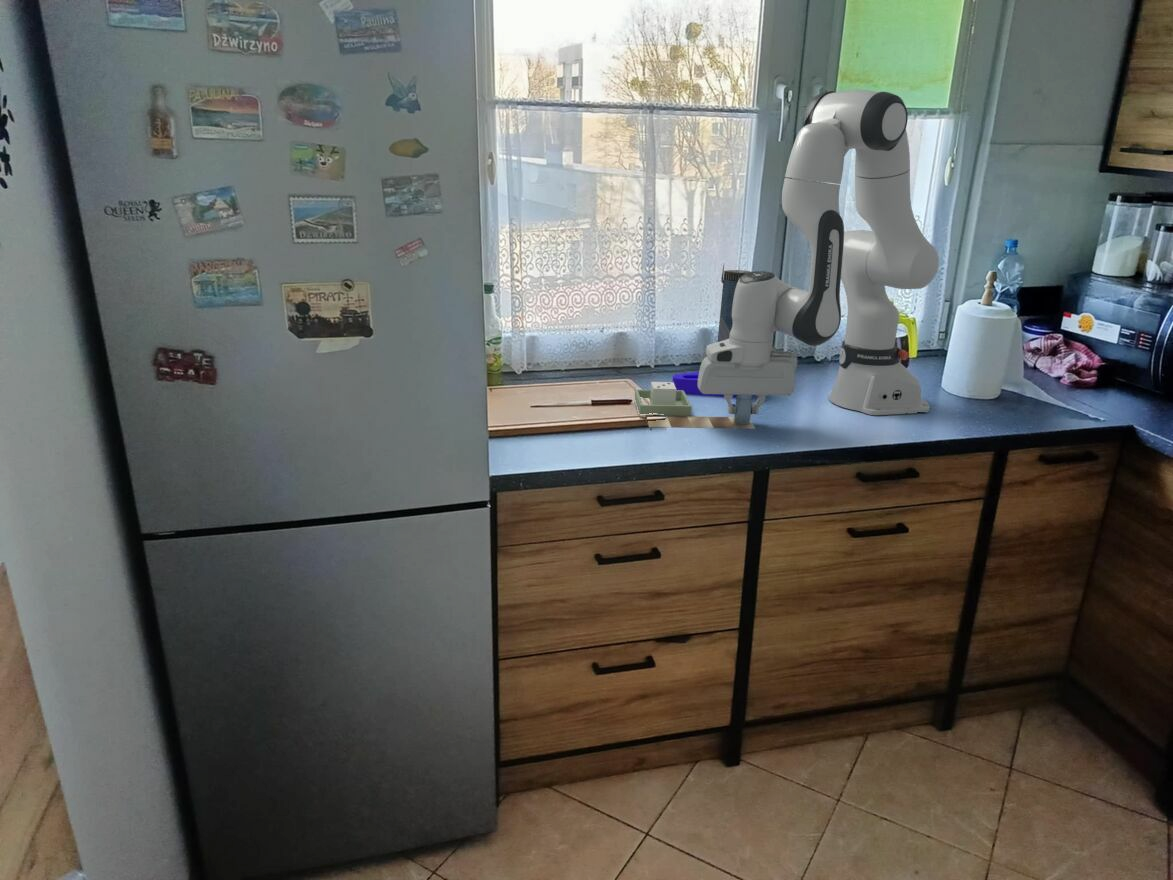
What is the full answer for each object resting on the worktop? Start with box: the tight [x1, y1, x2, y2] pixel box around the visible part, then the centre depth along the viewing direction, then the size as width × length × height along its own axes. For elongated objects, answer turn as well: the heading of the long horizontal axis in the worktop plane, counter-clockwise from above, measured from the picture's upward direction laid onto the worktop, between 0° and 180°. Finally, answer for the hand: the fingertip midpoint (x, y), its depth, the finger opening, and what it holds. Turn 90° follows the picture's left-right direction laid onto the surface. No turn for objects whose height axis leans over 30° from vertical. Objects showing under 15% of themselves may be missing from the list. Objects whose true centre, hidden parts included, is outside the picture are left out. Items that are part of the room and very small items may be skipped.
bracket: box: [671, 371, 754, 398], centre depth 207 cm, size 18×11×12 cm, turn 100°
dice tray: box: [634, 389, 692, 416], centre depth 196 cm, size 11×11×3 cm
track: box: [647, 415, 756, 430], centre depth 188 cm, size 22×7×1 cm, turn 93°
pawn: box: [733, 395, 753, 425], centre depth 187 cm, size 3×3×8 cm
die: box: [650, 381, 676, 405], centre depth 195 cm, size 5×5×5 cm
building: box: [717, 264, 751, 342], centre depth 214 cm, size 10×9×30 cm
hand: (742, 413), depth 188 cm, fingers closed on pawn, 3 cm apart
